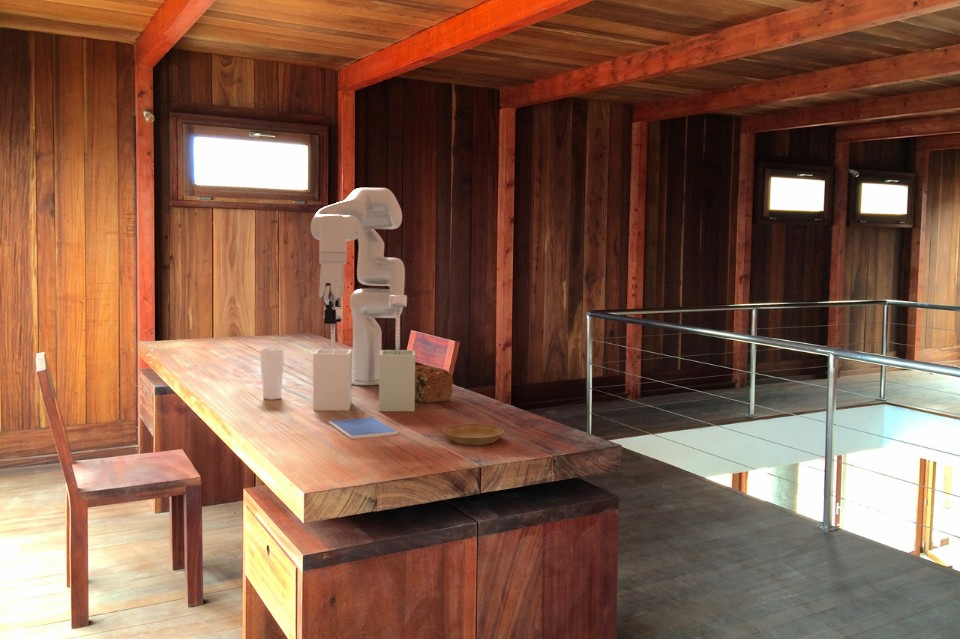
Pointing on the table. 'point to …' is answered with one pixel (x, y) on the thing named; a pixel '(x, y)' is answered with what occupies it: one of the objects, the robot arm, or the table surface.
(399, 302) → the silver rod piece
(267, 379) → the drinking glass
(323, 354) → the press white
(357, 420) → the tablet computer
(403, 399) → the press sage
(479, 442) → the plant saucer
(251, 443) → the table surface
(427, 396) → the bread
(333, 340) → the plunger white
